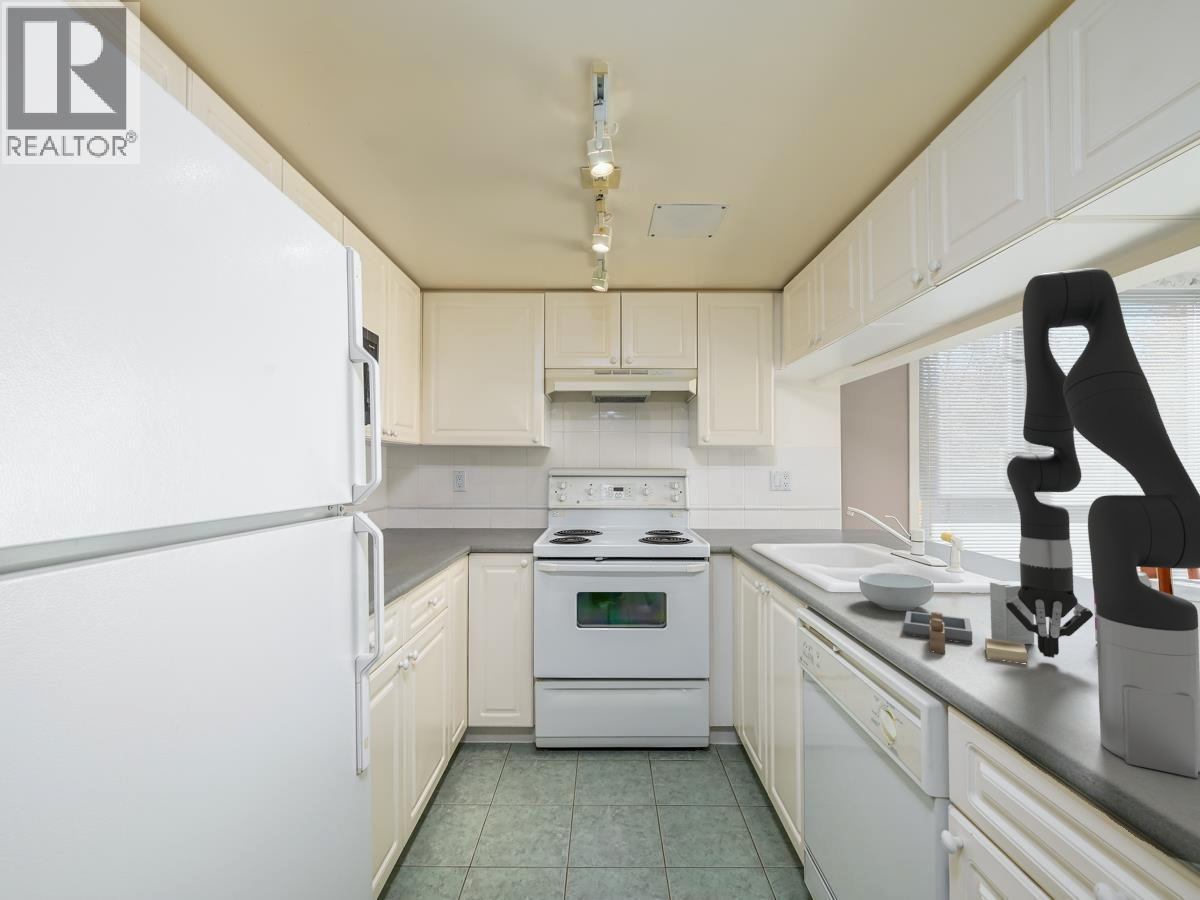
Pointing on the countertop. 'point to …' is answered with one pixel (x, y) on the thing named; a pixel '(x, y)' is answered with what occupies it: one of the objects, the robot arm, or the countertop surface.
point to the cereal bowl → (896, 590)
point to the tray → (953, 626)
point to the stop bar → (937, 633)
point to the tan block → (1006, 650)
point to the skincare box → (1008, 614)
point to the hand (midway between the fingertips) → (1048, 655)
